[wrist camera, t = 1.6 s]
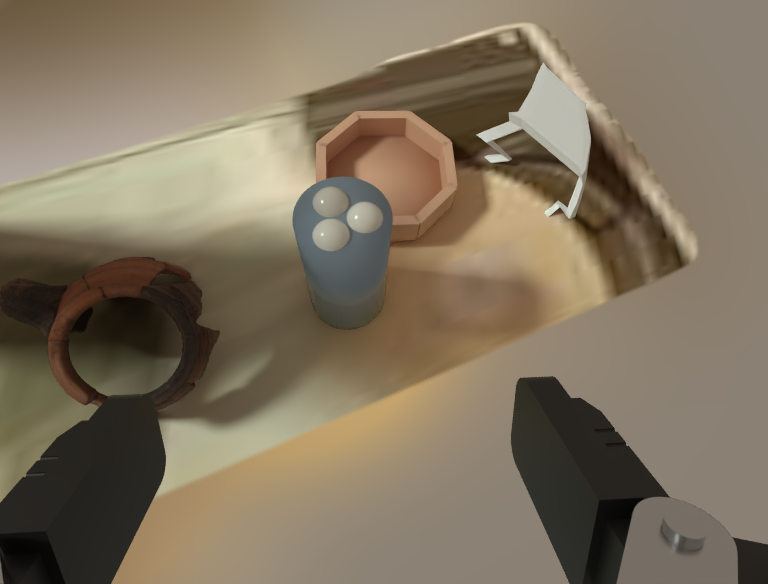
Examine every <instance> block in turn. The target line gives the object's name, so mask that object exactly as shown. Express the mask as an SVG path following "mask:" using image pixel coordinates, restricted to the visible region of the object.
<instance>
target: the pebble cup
mask: <svg viewBox="0 0 768 584" xmlns="http://www.w3.org/2000/svg"><path fill="white" fill-rule="evenodd" d="M392 225H393V215H392V210H391V206H390V204H389V202H388V200H387V199H386V197H385V196H384V194H383V193H382V192H381V191H380V190H379V189H378V188H376V187H375V186H373V185H372V184H370V183H368V182H366V181H364V180H361V179H358V178H353V177H333V178H328V179H325V180H322V181H320V182H318V183H316V184H314V185H312V186H311V187H310V188H308V189H307V190H306V191H305V192H304V193H303V194H302V195H301V197H300V198H299V200H298V201H297V203H296V205H295V208H294V212H293V228H294V232H295V236H296V240H297V244H298V248H299V252H300V256H301V260H302V264H303V268H304V272H305V276H306V280H307V284H308V288H309V291H310V295H311V299H312V303H313V306H314V309H315V311H316V313H317V314H318V316H319V317H320V318H321V319H322V320H323V321H325V322H326V323H327V324H329V325H331V326H333V327H336V328H340V329H355V328H359V327H362V326H364V325H366V324H368V323H369V322H371V321H372V320H373V319H374V318H375V317H376V316H377V315H378V313H379V312H380V310H381V308H382V305H383V301H384V294H385V285H386V277H387V268H388V259H389V251H390V242H391V233H392Z"/></svg>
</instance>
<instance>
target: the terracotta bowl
mask: <svg viewBox="0 0 768 584" xmlns="http://www.w3.org/2000/svg"><path fill="white" fill-rule="evenodd" d="M333 177H353V178H358V179H361V180H364V181H366V182H368V183H370V184H372V185H373V186H375V187H376V188H378V189H379V190H380V191H381V192H382V193H383V194H384V196H385V197H386V199H387V200H388V202H389V204H390V206H391V210H392V215H393V225H392V233H391V242H399V241H404V240H416V239H418V238H419V237H420V236H421V235H422V234H423V233H424V232H425V231H427V230H428V229H429V228H431V227H432V226H433V225H434V224H435V223H436V222H437V221H438V220H439V218H440V217H441V216H442V215H443V214H444V213H445V212H446V211H447V210H448V209H449V208H450V207H451V206H452V204H453V200H454V197H455V194H456V191H457V188H458V185H457V177H456V170H455V162H454V155H453V147H452V142H451V140H450V139H448V138H447V137H445V136H444V135H443V134H441V133H440V132H438V131H437V130H436V129H434V128H433V127H431V126H430V125H429V124H427V123H426V122H424V121H423V120H422V119H420V118H419V117H418V116H416V115H415V114H413V113H412V112H411V111H410V112H409V111H356V112H354V113H352V114H351V115H350V116H349V117H348V118H346V119H345V120H344V121H343V122H341V123H340V124H339V125H338V126H336V127H335V128H334V129H333V130H331V131H330V132H329V133H328V134H326V135H325V136H324V137H323V138H321V139H320V140H319V141H318V142H317V143H316V183H318V182H320V181H322V180H325V179H328V178H333ZM391 242H390V243H391Z"/></svg>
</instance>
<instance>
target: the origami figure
mask: <svg viewBox="0 0 768 584" xmlns="http://www.w3.org/2000/svg"><path fill="white" fill-rule="evenodd" d="M585 106H586V102H584V101H583V100H581V99H580V98H579V97H578V96H577V95H576V94H575V93H574V92H572V91H571V90H570V89H569V88H568V87H567V86H566V85H565V84H564V83H563V82H562V81H561V80H560V79H558V78H557V77H556V76H555V75H554V74H553V73H552V72H551V71H550V70H549V69H548V68H547V67H546V66H545V64H544V63H543V64H542V66H541V68H540V70H539V72H538V74H537V76H536V79H535V81H534V84H533V87H532V89H531V91H530V93H529V94H528V96H527V98H526V99H525V101H524V103H523V104H522V106H521V108H520V110H519V111H518V112H510V113H509V122H507V123H504V124H502V125H499V126H496V127H494V128H491V129H489V130H487V131H484V132H482V133H479V134H477V136H479V137H480V138H481V139H483V140H484V141H485V142H486V143H488V144H489V145H490V146H491V147H493V148H494V149H495V150H497V151H498V152H499V153H500V154H497V155H487V156H485V158H486V159H487V160H488V161H489V162H491V163H495V162H503V161H510V160H511V159H512V158H511V157H510V156H509V155H508V154H506V153H505V152H504V151H503V150H502V149H501V148H500V147H499V146H498V145H497V144H496V143H495V142H494V141H493V140H495V139H498V138H500V137H503V136H506V135H508V134H511V133H514V132H516V131H519V130H522V129H524V130H525V131H526V132H527V133H529V134H530V135H531V136H532V137H533V138H534V139H536V140H537V141H538V142H539V143H540V144H542V145H543V146H544V147H545V148H546V149H547V150H549V151H550V152H551V153H552V154H553V155H555V156H556V157H557V158H558V159H559V160H560V161H562V162H563V163H564V164H565V165H566V166H567V167H569V168H570V169H571V170H572V171H573V172H575V173H576V174H577V175H578V176H579V179H578V182H577V185H576V187H575V190H574V192H573V195H572V198H571V200H570V203H569V206H568V208H567V207H566V206H565V205H563V204H562V203H561V202H559V201H557V202H556V203H555V204H554V205H553V206H552V207H551V208H549V209H548V210H547V211H546V212H544V213H545V214H546V215H547V216H548V217H549V216H550V215H552V214H553V213H554V212H555V211H556V210H557V209H558V208H559V207H560V208H561V209H562V211H563V212H564V213H565V214H566V216H567V217H568V218H569V219H571V218H573V217H575V216H576V213H577V210H578V207H579V204H580V201H581V198H582V194H583V190H584V186H585V182H586V177H587V169H588V162H589V154H590V146H591V137H590V131H589V124H588V122H589V120H588V117H587V114H586V109H585Z"/></svg>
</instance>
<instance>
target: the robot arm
mask: <svg viewBox="0 0 768 584" xmlns="http://www.w3.org/2000/svg"><path fill="white" fill-rule="evenodd" d="M513 413H514V414H513V423H512V432H511V445H512V453H513V457H514V461H515V463H516V466H517V468H518V470H519V472H520V475H521V477H522V479H523V481H524V484H525V486H526V487H527V490H528V492H529V494H530V497H531V499H532V501H533V503H534V506H535V508H536V510H537V512H538V514H539V516H540V519H541V521H542V523H543V526H544V528H545V530H546V532H547V534H548V536H549V539H550V541H551V543H552V545H553V548H554V550H555V552H556V554H557V557H558V559H559V561H560V563H561V565H562V568H563V570H564V572H565V574H566V577H567V579H568V581H569V583H570V584H768V545H767V544H762V543H757V542H752V541H747V540H741V539H738V538H734V537H732V536H731V535H730V533H729V532H728V531H727V530H726V528H725V527H724V526H723V525H722V524H721V523H720V522H719V521H717V520H716V519H715V518H714V517H712V516H711V515H710V514H708V513H706V512H705V511H704V510H702V509H700V508H698V507H696V506H694V505H692V504H689V503H687V502H684V501H681V500H677V499H673V498H670V497H669V496H668V494H666V492H665V491H664V489H663V488H662V487H661V486H660V484H659V483H658V482H657V481H656V479H655V478H654V477H653V476H652V474H651V473H650V472H649V471H648V470H647V468H646V467H645V466H644V465H643V463H642V462H641V461H640V459H639V458H638V457H637V456H636V454H635V453H634V452H633V451H632V449H631V448H630V447H629V446H626V442H625V441H624V440H623V438H622V437H621V436H620V435H619V434H618V432H615V429H614V427H613V426H612V425H611V423H610V422H609V421H608V420H607V419H606V417H605V416H604V415H603V413H602V412H601V411H599V410H598V409H596V408H595V407H593V406H592V405H590V404H589V403H587V402H586V401H584V400H583V399H581V398H571V397H570V396H569V395H568V394H567V392H566V391H565V389H564V388H563V387H562V385H561V384H560V383H559V381H558V380H557V379H556V378H555V377H553V376H552V377H531V378H530V377H529V378H520V379H519V380H518V382H517V385H516V393H515V403H514V412H513ZM165 465H166V454H165V448H164V444H163V440H162V435H161V431H160V426H159V422H158V417H157V413H156V409H155V404H154V401H153V399H152V397H151V396H150V395H149V394H134V395H112V396H109V397H108V398H107V399H106V400H105V401H104V402H103V403H102V405H101V406H100V407H99V408H98V409H97V411H96V412H95V413H94V414H93V415H92V417H91V418H90V419H89V420H87V421H81V422H79V423H78V424H76V425H75V426H73V427H72V428H71V429H69V430H68V431H66V432H65V433H63V434H62V435H60V436H59V437H57V438H56V440H55V441H54V442H53V443H52V444H51V445H50V446H49V448H48V449H47V450H46V451H45V452H44V453H43V454H42V456H41V459H40V460H39V461H36V463H35V464H34V465H33V466H32V467H31V468H30V469H29V471H28V472H27V473H26V474H27V475H26V477H22V479H21V480H20V481H19V482H18V483H17V484H16V485H15V487H14V488H13V489H12V490H11V491H10V492H9V493H8V495H7V496H6V497H5V498H4V499H3V500H2V501H1V503H0V584H111V583H112V580H113V579H114V577H115V575H116V573H117V570H118V569H119V567H120V564H121V562H122V560H123V559H124V556H125V555H126V552H127V551H128V549H129V546H130V544H131V542H132V540H133V538H134V536H135V534H136V532H137V530H138V528H139V526H140V524H141V522H142V520H143V518H144V516H145V514H146V512H147V510H148V508H149V506H150V504H151V502H152V500H153V498H154V496H155V494H156V492H157V490H158V488H159V486H160V484H161V482H162V479H163V476H164V472H165Z"/></svg>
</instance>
